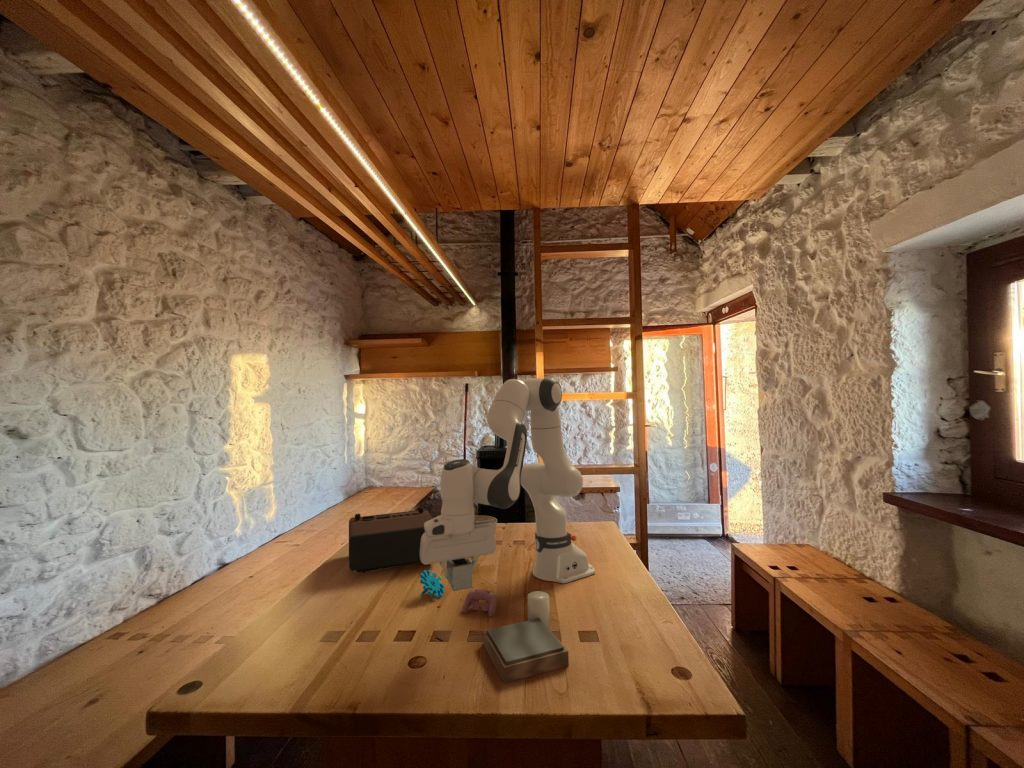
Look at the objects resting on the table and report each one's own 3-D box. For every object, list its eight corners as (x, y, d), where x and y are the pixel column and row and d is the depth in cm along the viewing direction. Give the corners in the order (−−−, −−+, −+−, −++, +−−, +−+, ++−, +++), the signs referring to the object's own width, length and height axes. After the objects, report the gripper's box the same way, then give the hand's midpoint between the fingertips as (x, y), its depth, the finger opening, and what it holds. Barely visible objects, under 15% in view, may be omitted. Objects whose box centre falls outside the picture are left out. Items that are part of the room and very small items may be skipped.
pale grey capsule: (544, 618, 121) (543, 589, 122) (553, 628, 116) (552, 598, 116) (524, 622, 119) (524, 593, 119) (533, 633, 114) (532, 602, 114)
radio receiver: (433, 543, 187) (433, 502, 188) (446, 565, 162) (446, 517, 163) (348, 555, 175) (348, 511, 175) (348, 581, 149) (348, 529, 150)
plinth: (540, 631, 114) (539, 616, 114) (568, 665, 99) (568, 648, 100) (483, 644, 109) (483, 628, 109) (504, 683, 94) (504, 664, 94)
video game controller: (496, 618, 125) (500, 591, 128) (491, 617, 121) (495, 590, 124) (466, 613, 128) (470, 587, 131) (460, 612, 124) (464, 586, 127)
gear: (435, 599, 130) (417, 572, 134) (423, 612, 131) (405, 584, 135) (452, 589, 141) (435, 564, 144) (440, 601, 141) (423, 576, 145)
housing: (464, 575, 117) (464, 553, 117) (472, 587, 109) (472, 564, 109) (446, 579, 115) (446, 556, 115) (453, 591, 108) (453, 567, 108)
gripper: (491, 514, 119) (492, 564, 119) (417, 523, 112) (418, 576, 112) (498, 520, 113) (500, 572, 113) (421, 530, 106) (422, 586, 106)
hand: (459, 574), depth 112 cm, fingers closed on housing, 5 cm apart
